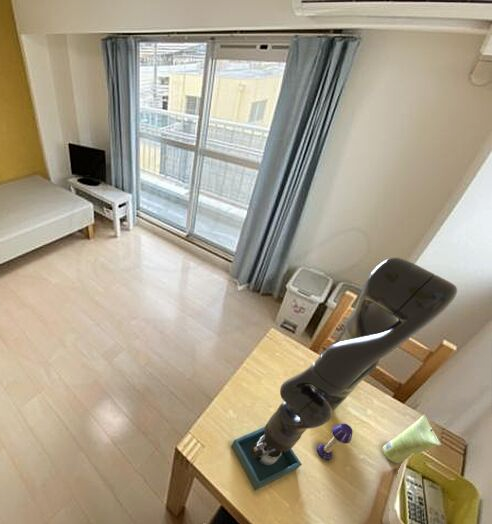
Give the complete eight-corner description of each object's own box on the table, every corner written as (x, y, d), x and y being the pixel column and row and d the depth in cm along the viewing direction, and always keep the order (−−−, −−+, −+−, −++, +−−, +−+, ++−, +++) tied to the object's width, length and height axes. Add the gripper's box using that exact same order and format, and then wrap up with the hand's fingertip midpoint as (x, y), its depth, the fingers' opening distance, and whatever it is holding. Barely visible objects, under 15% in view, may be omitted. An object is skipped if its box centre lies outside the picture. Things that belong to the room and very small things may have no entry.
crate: (269, 429, 96) (273, 422, 93) (295, 470, 88) (302, 464, 84) (230, 446, 93) (234, 440, 89) (254, 491, 84) (259, 485, 80)
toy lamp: (311, 446, 93) (333, 424, 82) (322, 440, 94) (345, 417, 83) (324, 462, 89) (349, 441, 79) (335, 455, 91) (361, 434, 80)
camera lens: (268, 472, 86) (275, 463, 81) (249, 453, 90) (255, 444, 84) (279, 455, 89) (287, 446, 84) (260, 438, 93) (267, 428, 88)
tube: (406, 458, 90) (449, 433, 78) (399, 469, 88) (441, 445, 75) (386, 441, 94) (424, 414, 81) (378, 451, 92) (416, 425, 79)
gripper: (269, 456, 72) (253, 476, 83) (316, 434, 76) (295, 456, 87) (251, 425, 78) (238, 448, 89) (295, 406, 81) (277, 430, 92)
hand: (266, 451), depth 88 cm, fingers closed on camera lens, 6 cm apart
